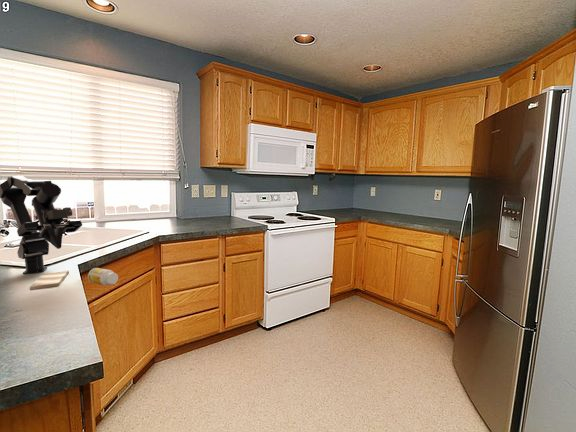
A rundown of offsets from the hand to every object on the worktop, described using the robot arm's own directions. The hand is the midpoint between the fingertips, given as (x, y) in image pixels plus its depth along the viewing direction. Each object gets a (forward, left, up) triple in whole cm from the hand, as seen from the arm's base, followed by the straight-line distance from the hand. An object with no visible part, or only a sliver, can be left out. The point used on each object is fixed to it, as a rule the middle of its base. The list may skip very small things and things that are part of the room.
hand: (59, 248), depth 111 cm
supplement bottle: (+6, +11, -10) cm, 16 cm away
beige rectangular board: (-3, -4, -12) cm, 14 cm away
